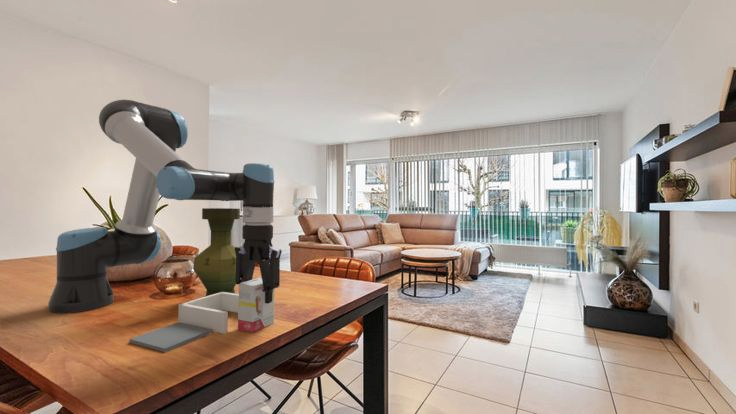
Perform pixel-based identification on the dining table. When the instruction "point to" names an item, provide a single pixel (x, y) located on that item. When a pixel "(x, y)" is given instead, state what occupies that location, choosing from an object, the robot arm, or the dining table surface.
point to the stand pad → (170, 336)
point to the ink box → (252, 307)
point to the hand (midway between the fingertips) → (256, 313)
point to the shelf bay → (209, 311)
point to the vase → (218, 252)
